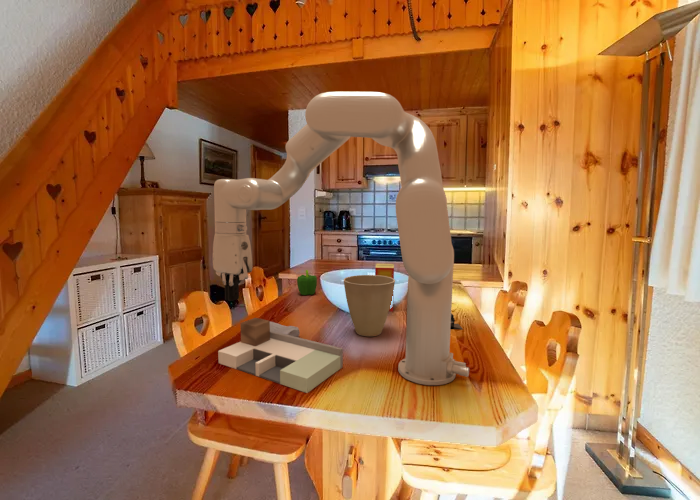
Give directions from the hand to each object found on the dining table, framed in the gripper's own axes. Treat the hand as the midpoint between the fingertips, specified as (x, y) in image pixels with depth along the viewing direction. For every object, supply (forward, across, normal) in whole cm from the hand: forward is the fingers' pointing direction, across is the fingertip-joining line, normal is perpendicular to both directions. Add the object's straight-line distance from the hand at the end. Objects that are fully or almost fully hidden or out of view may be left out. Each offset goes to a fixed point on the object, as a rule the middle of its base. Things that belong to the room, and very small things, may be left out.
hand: (231, 299), depth 92 cm
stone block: (+13, -6, -11) cm, 18 cm away
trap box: (+12, -18, +2) cm, 22 cm away
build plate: (+12, -44, -46) cm, 65 cm away
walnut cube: (+10, -8, 0) cm, 13 cm away
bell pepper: (+13, +17, -55) cm, 59 cm away
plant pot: (+12, -26, -28) cm, 40 cm away
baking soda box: (+12, -19, -54) cm, 59 cm away
